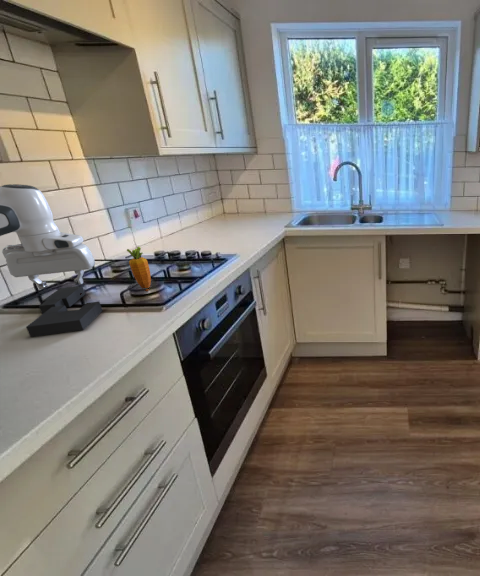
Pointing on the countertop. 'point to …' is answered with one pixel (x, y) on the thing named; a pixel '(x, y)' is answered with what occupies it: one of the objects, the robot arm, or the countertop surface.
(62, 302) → the pad
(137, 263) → the carrot
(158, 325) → the countertop surface
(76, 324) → the notch pad
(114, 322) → the countertop surface
